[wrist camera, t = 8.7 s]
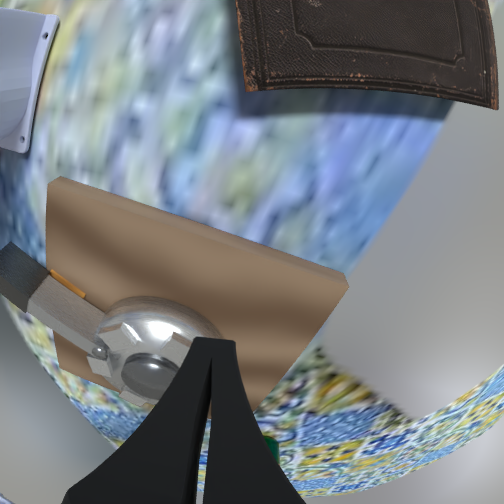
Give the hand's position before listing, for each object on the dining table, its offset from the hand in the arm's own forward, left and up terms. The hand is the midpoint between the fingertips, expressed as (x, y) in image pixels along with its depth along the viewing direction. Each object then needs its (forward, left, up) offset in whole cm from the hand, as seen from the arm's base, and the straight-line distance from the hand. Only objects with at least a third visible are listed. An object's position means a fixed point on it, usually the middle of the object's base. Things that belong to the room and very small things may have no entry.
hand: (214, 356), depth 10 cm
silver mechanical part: (+9, -6, -8) cm, 13 cm away
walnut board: (+10, -2, -9) cm, 14 cm away
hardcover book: (-22, 0, -10) cm, 24 cm away
